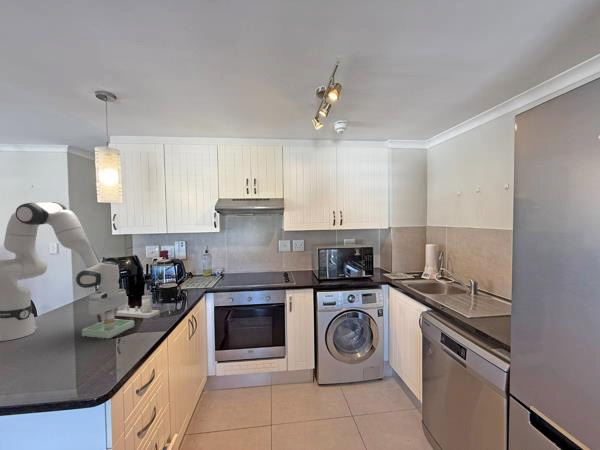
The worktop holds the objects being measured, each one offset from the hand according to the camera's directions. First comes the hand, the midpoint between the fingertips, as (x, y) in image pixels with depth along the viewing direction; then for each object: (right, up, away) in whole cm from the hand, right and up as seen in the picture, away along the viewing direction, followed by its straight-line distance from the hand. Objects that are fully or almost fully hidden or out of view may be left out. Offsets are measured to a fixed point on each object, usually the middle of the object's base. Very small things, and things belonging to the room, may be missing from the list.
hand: (109, 318), depth 144 cm
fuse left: (-15, -5, +29) cm, 33 cm away
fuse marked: (0, -6, 0) cm, 6 cm away
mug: (+5, -7, +55) cm, 56 cm away
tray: (0, -7, 0) cm, 7 cm away
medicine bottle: (-21, -7, +41) cm, 47 cm away
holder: (-5, -7, +27) cm, 29 cm away
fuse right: (+5, -5, +26) cm, 26 cm away
